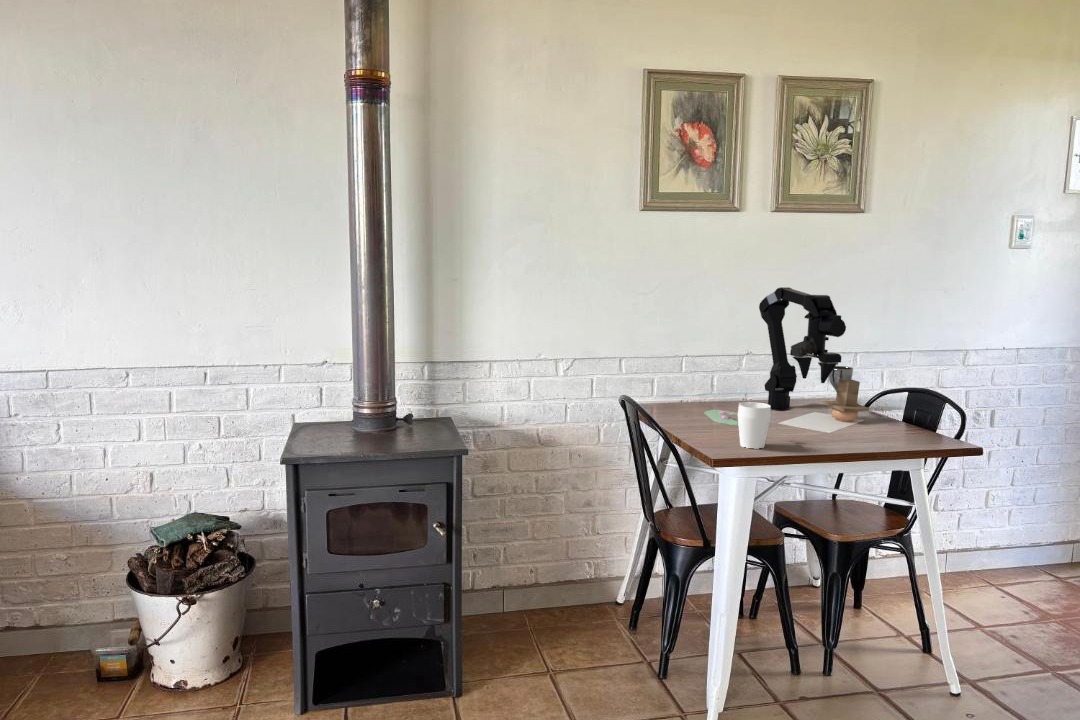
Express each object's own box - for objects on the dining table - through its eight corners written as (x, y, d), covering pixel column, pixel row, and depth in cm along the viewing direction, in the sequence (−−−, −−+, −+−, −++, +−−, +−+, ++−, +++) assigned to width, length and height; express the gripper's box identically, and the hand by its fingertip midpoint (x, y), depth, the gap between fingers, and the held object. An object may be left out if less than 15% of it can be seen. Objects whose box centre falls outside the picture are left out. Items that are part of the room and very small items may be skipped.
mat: (777, 426, 253) (777, 423, 253) (814, 414, 272) (814, 411, 271) (829, 435, 241) (829, 432, 241) (864, 423, 260) (864, 420, 260)
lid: (822, 404, 261) (826, 377, 260) (846, 403, 265) (850, 377, 263) (844, 411, 252) (848, 384, 250) (868, 411, 256) (872, 383, 254)
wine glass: (853, 412, 277) (856, 369, 275) (830, 411, 277) (833, 369, 275) (845, 407, 285) (848, 366, 283) (822, 407, 285) (825, 365, 283)
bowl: (827, 419, 259) (827, 407, 259) (837, 416, 265) (838, 404, 264) (851, 424, 254) (852, 411, 253) (861, 420, 259) (862, 408, 259)
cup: (731, 442, 231) (733, 401, 229) (761, 442, 232) (764, 401, 230) (742, 450, 222) (744, 408, 220) (773, 450, 223) (776, 408, 221)
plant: (684, 415, 269) (685, 389, 268) (726, 409, 281) (727, 383, 280) (741, 430, 249) (743, 401, 248) (784, 423, 261) (786, 395, 259)
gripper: (778, 330, 266) (775, 377, 268) (815, 337, 249) (811, 386, 251) (806, 330, 270) (802, 375, 272) (844, 336, 252) (840, 385, 255)
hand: (813, 380), depth 262 cm, fingers open, 9 cm apart
